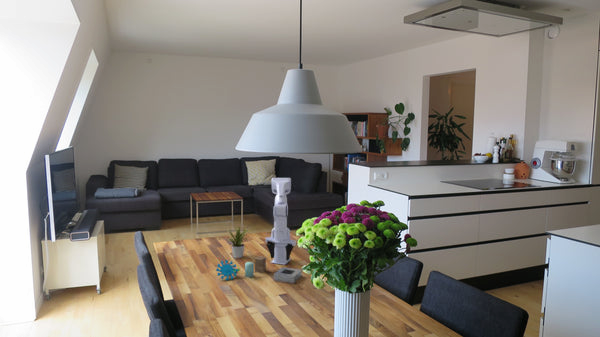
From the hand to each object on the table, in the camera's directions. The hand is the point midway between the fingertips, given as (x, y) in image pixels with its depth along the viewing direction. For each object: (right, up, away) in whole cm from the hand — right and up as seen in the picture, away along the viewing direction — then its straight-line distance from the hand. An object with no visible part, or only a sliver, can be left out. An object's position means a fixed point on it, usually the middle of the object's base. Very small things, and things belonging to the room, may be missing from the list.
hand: (280, 258), depth 202 cm
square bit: (-10, -8, +11) cm, 17 cm away
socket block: (+4, -9, +2) cm, 10 cm away
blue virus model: (-24, -9, +2) cm, 26 cm away
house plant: (-23, -6, +32) cm, 39 cm away
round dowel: (-15, -9, +4) cm, 18 cm away
